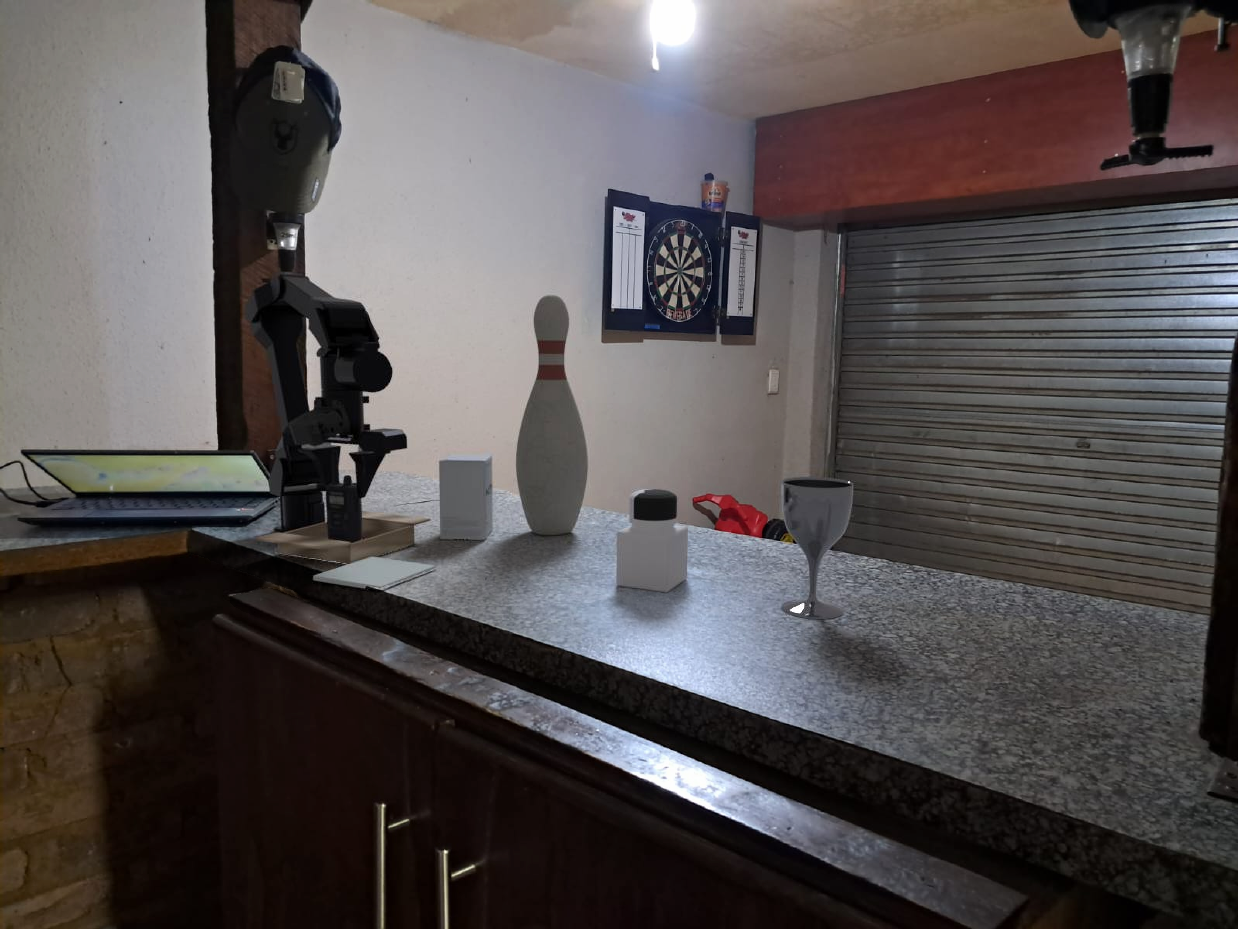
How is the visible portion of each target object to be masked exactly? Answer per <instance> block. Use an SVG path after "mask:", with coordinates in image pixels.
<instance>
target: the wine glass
mask: <svg viewBox="0 0 1238 929" xmlns="http://www.w3.org/2000/svg"><path fill="white" fill-rule="evenodd" d="M853 498H854V482H852V481H849V480H846V479H841V478H840V479H839V478H832V477H820V476H798V477H797V476H796V477H795V476H794V477H788V478H784V479H782V481H781V508H782V509H781V510H782V516H783V519H784V520H783V521H784V524H785V527H786V531H787V532H788V534H789V535H790V537H792V539H793V540H794V542H796V544H797V545H798V546H799V548H800V549H801V550H802V552H803V554H804V556H805V558H806V561H807V564H808V573H809V574H808V575H809V592H808V593H809V594H808V597H807V598H806V599H794V600H789V601H786V602H784V603H782V605H781V606H780V608H781V610H782V611H783V612H784V613H786V614H788V615H791V616H794V617H797V618H798V617H799V618H802V619H810V620H811V619H812V620H829V619H835V618H838V617H841V616H843V615H844V614H845V613H844V609H843V607H841V606H839V605H837V604H834V603H831V602H828V601H824V600H819V599H818V597H817V584H818V575H819V570H820V564H821V562H822V560H823V558H824V557H825V555H826V554H827V552H828V551H829V550H830V549H831V548H832V547H833V546H834V545H835V544H836V543H837V542H838V541H839V539H841V538H842V536H843V535H844V534H845V532H846V530H847V528H848V525H849V522H850V518H851V512H852V507H853Z"/></svg>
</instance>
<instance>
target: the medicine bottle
mask: <svg viewBox="0 0 1238 929" xmlns="http://www.w3.org/2000/svg"><path fill="white" fill-rule="evenodd" d="M677 516H678V495H676V494H675V493H674V492H672V491H669V490H666V489H660V488H646V489H639V490H636V491H634V492H632V493H631V494H630V495H629V519H628V520H629V523H630V524H631V525H628V526H626V527H625V528H623V529H620V530H618V531H617V532H616V573H615V574H616V582H615V584H616V585H617V587H622V588H623V587H625V588H630V589H639V590H645V591H653V592H660V593H668V592H670V591H671V590H673V589H674V588H676V587H678V585H681V583H682V582H684V581H686V580H687V578H688V547H689V546H688V545H689V544H688V543H689V542H688V541H689V536H688V535H689V528H688V526H686V525H685V526H684V525H678V524H677V522H678V520H677V519H678V517H677Z"/></svg>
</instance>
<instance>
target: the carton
mask: <svg viewBox="0 0 1238 929" xmlns="http://www.w3.org/2000/svg"><path fill="white" fill-rule="evenodd" d="M431 520H432V519H431V518H428V517H427V518H426V517H418V516H410V515H400V514H393V513H391V514H390V513H384V512H383V513H382V512H375V511H366V510H362V540H361V541H358V542H354V543H351V542H345V541H338V540H331V539H328V529H327V521H325V522H324V523H320V524H316V525H312V526H308V527H304V528H300V529H296V530H292V531H288V532H280V531H275V532H273V533H269V534H265V535H261V536H256V537H254V541H258V542H260V541H261V542H265V543H273V544H277V554H278V553H281V554H286V555H297V556H301V557H307V558H316V559H321V560H326V561H336V562H340V563H346V564H351V563H354V562H357V561H360V560H363V559H366V558H369V557H377V556H379V557H381V556H380V555H382V556H385V555H387V554H386V553H388V554H390V553H389V552H391V551H394V552H397V551H399V550H398V549H400V550H402V549H401V548H404V549H407V548H409V547H408V546H410V545H413V544H415V526H417V525H421V524H424V523H428V522H430V521H431ZM415 545H416V544H415ZM413 546H414V545H413ZM406 547H407V548H406ZM410 547H411V546H410ZM396 550H397V551H396ZM391 553H392V552H391ZM384 554H385V555H384Z"/></svg>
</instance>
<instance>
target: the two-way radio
mask: <svg viewBox="0 0 1238 929" xmlns="http://www.w3.org/2000/svg"><path fill="white" fill-rule="evenodd" d="M339 467H340V465H339V466H338V454H337V450H336V449H333V450H332V483H331V484H329V485H327V487H326V491H325V504H326V505H325V507H326V510H325V511H326V522H327V529H328V539H331V540H338V541H345V542H351V543H354V542H358V541H361V540H363V539H362V511H363V506H362V504H363V503H362V498H358V493H357V485H356V482H353V480H352V476H351V475H348V474H346V475H344V476H343V481H342V482H340V468H339Z"/></svg>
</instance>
